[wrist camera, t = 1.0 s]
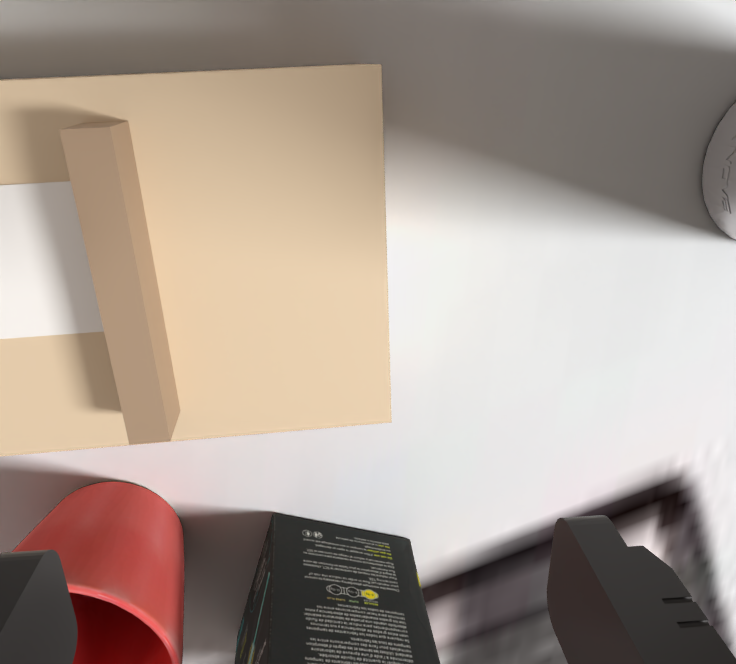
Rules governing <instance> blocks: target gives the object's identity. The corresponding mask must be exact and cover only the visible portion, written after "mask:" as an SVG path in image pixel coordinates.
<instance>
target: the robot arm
mask: <svg viewBox="0 0 736 664" xmlns="http://www.w3.org/2000/svg"><path fill="white" fill-rule="evenodd" d="M702 188H703V195H704V201H705V204H706V206H707V209H708V211H709V214H710V216H711V218H712V219H713V220H714V222H715V223H716V224H717V226H718V227H719V228H720V229H721V230H722V231H723V232H725V233H726V234H727V235H728V236H730V237H731V238H733V239H735V240H736V102H735V103H734V104H733V105H732V106H731V107H730V109H729V110H728V111H727V113H726V114H725V116H724V117H723V119H722V120H721V122H720V123H719V125H718V126H717V128H716V130H715V132H714V135H713V137H712V139H711V141H710V143H709V145H708V149H707V153H706V157H705V160H704V164H703V176H702ZM547 603H548V610H549V615H550V619H551V623H552V626H553V629H554V631H555V634H556V636H557V638H558V641H559V643H560V645H561V648H562V650H563V653H564V655H565V657H566V660H567V662H568V664H736V658H735V657H734V656H733V654H732V653H731V651H730V650H729V649H728V647H727V646H726V644H725V643H724V641H723V640H722V639H721V637H720V636H719V634H718V633H717V632H716V630H715V629H714V627H713V626H710V625H709V623H708V619H707V617H706V616H705V615H704V613H703V612H702V610H701V609H700V608H699V606H698V605H697V603H696V602H693V601H692V596H691V595H690V593H689V592H688V591H687V589H686V588H685V586H684V585H683V583H682V582H681V581H680V579H679V578H678V576H677V575H676V574H675V572H674V571H673V569H672V568H671V567H669V566H668V565H667V564H665V563H664V562H663V561H662V560H660V559H659V558H658V557H657V556H655V555H654V554H653V553H651V552H650V551H649V550H648V549H646V548H645V547H644V546H632V547H628V546H627V545H626V543H625V542H624V540H623V539H622V537H621V536H620V534H619V533H618V531H617V529H616V528H615V526H614V525H613V523H612V522H611V521H610V519H609V518H608V517H606V516H604V515H600V516H584V517H569V518H559V519H558V520H557V522H556V524H555V529H554V537H553V544H552V552H551V560H550V568H549V576H548V584H547ZM76 646H77V621H76V616H75V613H74V609H73V605H72V601H71V598H70V594H69V590H68V586H67V582H66V579H65V575H64V571H63V567H62V564H61V560H60V557H59V555H58V553H57V552H56V551H55V550H36V551H21V552H5V553H1V554H0V664H72V663H73V660H74V656H75V652H76Z"/></svg>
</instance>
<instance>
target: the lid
mask: <svg viewBox="0 0 736 664" xmlns="http://www.w3.org/2000/svg"><path fill="white" fill-rule="evenodd" d="M390 422H391V387H390V351H389V316H388V280H387V245H386V209H385V174H384V138H383V103H382V67H381V64H376V65H353V66H329V67H306V68H283V69H260V70H237V71H214V72H191V73H167V74H144V75H121V76H98V77H75V78H52V79H29V80H5V81H0V456H11V455H23V454H34V453H46V452H57V451H68V450H80V449H91V448H103V447H114V446H126V445H137V444H149V443H160V442H172V441H183V440H195V439H206V438H218V437H229V436H241V435H252V434H263V433H275V432H286V431H298V430H309V429H321V428H332V427H344V426H355V425H367V424H378V423H390Z"/></svg>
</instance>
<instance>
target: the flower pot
mask: <svg viewBox="0 0 736 664" xmlns="http://www.w3.org/2000/svg"><path fill="white" fill-rule="evenodd" d="M36 550H55V551H56V552H57V553H58V555H59V557H60V560H61V564H62V567H63V571H64V575H65V579H66V582H67V586H68V590H69V594H70V598H71V601H72V605H73V609H74V613H75V616H76V621H77V646H76V652H75V656H74V660H73V663H72V664H182V654H183V618H184V539H183V529H182V525H181V522H180V520H179V518H178V516H177V514H176V513H175V511H174V510H173V508H172V507H171V506H170V505H169V504H168V503H167V502H166V501H165V500H164V499H163V498H161V497H160V496H158V495H157V494H155V493H153V492H152V491H150V490H148V489H146V488H143V487H141V486H138V485H134V484H130V483H124V482H101V483H96V484H92V485H89V486H85V487H82V488H80V489H78V490H76V491H74V492H72V493H71V494H69V495H68V496H67V497H65V498H64V499H63V500H62V501H61V502H60V503H59V504H58V505H57V506H56V507H55V508H54V509H53V510H52V511H51V512H50V513H49V514H48V515H47V516H46V517H45V518H44V519H43V520H42V521H41V522H40V523H39V524H38V525H37V526H36V527H35V528H34V529H33V530H32V531H31V532H30V533H29V534H28V535H27V536H26V537H25V539H24V540H23V541H22V542H21V543H20V544H19V545H18V546H17V547H16V548H15V549H14V550H13V551H12V552H21V551H36Z"/></svg>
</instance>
